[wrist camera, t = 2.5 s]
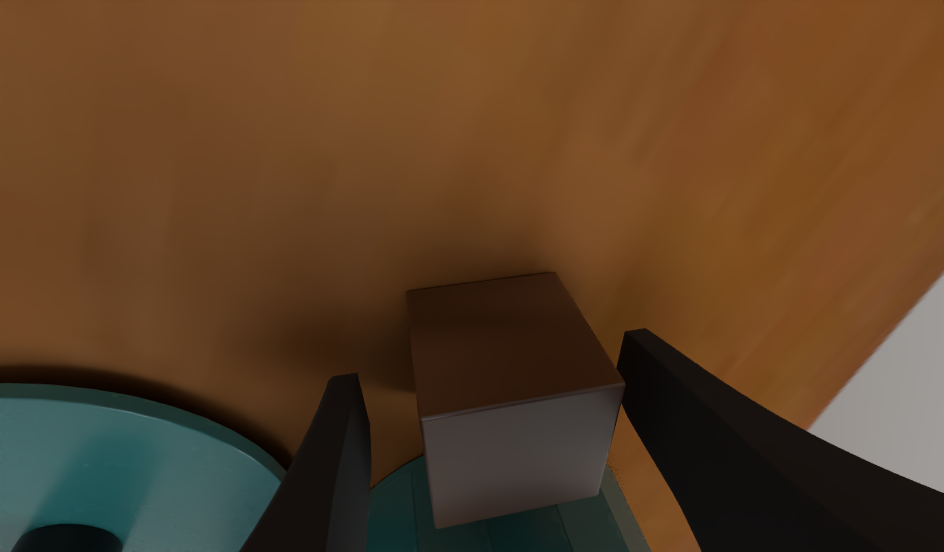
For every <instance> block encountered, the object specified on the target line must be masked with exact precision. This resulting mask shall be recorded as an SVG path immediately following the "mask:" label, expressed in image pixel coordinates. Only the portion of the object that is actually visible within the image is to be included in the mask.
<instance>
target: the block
mask: <svg viewBox="0 0 944 552" xmlns="http://www.w3.org/2000/svg"><path fill="white" fill-rule="evenodd" d="M405 296H406V305H407V314H408V323H409V333H410V342H411V351H412V360H413V370H414V379H415V388H416V398H417V407H418V416H419V424H420V431H421V437H422V444H423V451H424V458H425V465H426V472H427V478H428V485H429V492H430V499H431V506H432V512H433V519H434V526H435V528H436V529H440V528H445V527H450V526H455V525H459V524H464V523H469V522H474V521H478V520H483V519H488V518H493V517H497V516H502V515H507V514H512V513H517V512H521V511H526V510H531V509H536V508H540V507H545V506H550V505H555V504H559V503H564V502H569V501H574V500H579V499H583V498H588V497H593V496H596V495H598V492H599V488H600V484H601V480H602V476H603V472H604V468H605V465H606V461H607V457H608V453H609V449H610V445H611V441H612V437H613V433H614V429H615V425H616V421H617V418H618V414H619V410H620V406H621V402H622V398H623V394H624V390H625V386H626V385H625V382H624V380H623V378H622V377H621V375H620V374H619V372H618V371H617V369H616V367H615V366H614V364H613V363H612V361H611V359H610V358H609V356H608V355H607V353H606V352H605V350H604V348H603V347H602V345H601V344H600V342H599V340H598V339H597V337H596V336H595V334H594V333H593V331H592V329H591V328H590V326H589V325H588V323H587V321H586V320H585V318H584V317H583V315H582V314H581V312H580V310H579V309H578V307H577V306H576V304H575V302H574V301H573V299H572V298H571V296H570V295H569V293H568V291H567V290H566V288H565V287H564V285H563V283H562V282H561V280H560V279H559V277H558V276H557V274H556V273H555V272H552V273H544V274H536V275H529V276H521V277H513V278H506V279H498V280H490V281H483V282H475V283H467V284H460V285H452V286H444V287H437V288H429V289H422V290H414V291H407V292H406V294H405Z"/></svg>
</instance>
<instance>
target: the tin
mask: <svg viewBox="0 0 944 552" xmlns="http://www.w3.org/2000/svg"><path fill="white" fill-rule="evenodd" d="M366 552H651V550H650V548H649V546H648V544H647V542H646V540H645V538H644V536H643V534H642V531H641V529H640V527H639V525H638V523H637V521H636V519H635V517H634V515H633V513H632V511H631V509H630V507H629V505H628V503H627V501H626V499H625V497H624V495H623V493H622V491H621V489H620V487H619V485H618V483H617V481H616V478H615V476H614V474H613V472H612V470H611V469H610V467H609V466H607V465H605V468H604V472H603V476H602V480H601V484H600V488H599V492H598V495H596V496H593V497H588V498H583V499H579V500H574V501H569V502H564V503H559V504H555V505H550V506H545V507H540V508H536V509H531V510H526V511H521V512H517V513H512V514H507V515H502V516H497V517H493V518H488V519H483V520H478V521H474V522H469V523H464V524H459V525H455V526H450V527H445V528H440V529H436V528H435V526H434V519H433V512H432V506H431V499H430V492H429V485H428V478H427V472H426V465H425V458H424V455H423V456H421V457H419V458H417V459H415V460H413V461H411V462H410V463H408V464H406V465H404V466H402V467H401V468H399V469H398V470H396V471H395V472H393V473H392V474H390V475H389V476H387V477H386V478H385V479H384V480H382V481H381V482H380V483H379V484H377V485H376V486H375V487H374V488H373V489H372V490H371V491H370V495H369V510H368V524H367V539H366Z"/></svg>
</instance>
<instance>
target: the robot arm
mask: <svg viewBox="0 0 944 552" xmlns="http://www.w3.org/2000/svg"><path fill="white" fill-rule="evenodd" d="M616 369H617V371H618V372H619V374H620V375H621V377H622V378H623V380H624V382H625V385H626V386H625V390H624V394H623V398H622V402H621V403H622V406H623V408H624V410H625V412H626V414H627V417H628V418H629V420H630V422H631V424H632V425H633V427H634V429H635V430H636V432H637V434H638V436H639V437H640V439H641V441H642V442H643V444H644V446H645V447H646V449H647V451H648V452H649V454H650V456H651V457H652V459H653V461H654V462H655V464H656V466H657V467H658V469H659V471H660V472H661V474H662V476H663V477H664V479H665V481H666V482H667V484H668V486H669V487H670V489H671V491H672V493H673V494H674V496H675V498H676V500H677V502H678V503H679V505H680V507H681V509H682V511H683V513H684V515H685V517H686V519H687V521H688V524H689V526H690V528H691V530H692V532H693V534H694V536H695V538H696V540H697V542H698V544H699V547H700V549H701V551H702V552H944V493H942V492H939V491H937V490H935V489H932V488H930V487H927V486H925V485H922V484H920V483H917V482H915V481H913V480H910V479H907V478H905V477H903V476H900V475H898V474H896V473H893V472H891V471H889V470H886V469H884V468H882V467H880V466H877V465H875V464H873V463H871V462H868V461H866V460H864V459H862V458H860V457H858V456H856V455H853V454H851V453H849V452H847V451H845V450H843V449H841V448H838V447H837V446H834V445H832V444H830V443H828V442H826V441H824V440H822V439H820V438H818V437H816V436H815V435H812V434H811V433H809V432H807V431H805V430H803V429H801V428H800V427H798V426H796V425H794V424H792V423H790V422H789V421H787V420H785V419H783V418H781V417H779V416H778V415H776V414H774V413H773V412H771V411H769V410H767V409H766V408H764V407H762V406H761V405H759V404H758V403H756V402H754V401H753V400H751V399H749V398H748V397H746V396H745V395H743V394H741V393H740V392H738V391H737V390H735V389H733V388H732V387H730V386H729V385H727V384H726V383H724V382H723V381H721V380H720V379H718V378H717V377H715V376H714V375H712V374H711V373H709V372H708V371H706V370H705V369H703V368H702V367H701V366H699V365H698V364H696V363H695V362H693V361H692V360H691V359H689V358H688V357H686V356H685V355H683V354H682V353H681V352H679V351H678V350H676V349H675V348H674V347H672V346H671V345H669V344H668V343H666V342H665V341H664V340H662V339H661V338H659V337H658V336H656V335H655V334H653V333H652V332H650V331H649V330H647V329H646V328H644V329H637V330H631V331H625V333H624V337H623V342H622V346H621V350H620V354H619V359H618V363H617V367H616ZM370 480H371V437H370V422H369V418H368V414H367V410H366V406H365V402H364V398H363V394H362V390H361V386H360V382H359V378H358V374H357V373H351V374H345V375H338V376H332V377H331V378H330V379H329V380H328V383H327V386H326V389H325V392H324V394H323V397H322V399H321V402H320V404H319V407H318V409H317V411H316V414H315V416H314V418H313V420H312V423H311V425H310V427H309V429H308V431H307V433H306V435H305V437H304V440H303V442H302V444H301V446H300V448H299V450H298V452H297V454H296V456H295V458H294V460H293V462H292V464H291V465H290V467H289V469H288V471H287V473H286V475H285V476H284V478H283V480H282V482H281V484H280V485H279V487H278V489H277V491H276V493H275V495H274V496H273V498H272V500H271V501H270V503H269V505H268V506H267V508H266V510H265V511H264V513H263V515H262V516H261V518H260V519H259V521H258V523H257V524H256V526H255V527H254V529H253V531H252V532H251V534H250V535H249V537H248V538H247V540H246V541H245V543H244V544H243V546H242V547H241V549H240V550H239V552H366V539H367V524H368V510H369V495H370Z"/></svg>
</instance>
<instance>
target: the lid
mask: <svg viewBox="0 0 944 552" xmlns="http://www.w3.org/2000/svg"><path fill="white" fill-rule="evenodd" d="M286 473H287V471H286V470H285V469H284V468H283V467H282V466H281V465H280V464H279V463H278V462H277V461H276V460H275V459H274V458H273V457H272V456H271V455H269V454H268V453H267V452H265V451H264V450H263V449H262V448H260V447H259V446H258V445H256V444H255V443H253V442H252V441H250V440H248V439H247V438H245V437H243V436H242V435H240V434H238V433H236V432H235V431H233V430H231V429H229V428H227V427H225V426H222V425H220V424H218V423H216V422H214V421H211V420H209V419H207V418H205V417H202V416H199V415H196V414H194V413H191V412H188V411H185V410H182V409H179V408H177V407H174V406H170V405H166V404H163V403H159V402H155V401H151V400H147V399H144V398H140V397H136V396H130V395H125V394H119V393H114V392H109V391H103V390H98V389H90V388H81V387H72V386H62V385H53V384H28V383H0V552H239V550H240V549H241V547H242V546H243V544H244V543H245V541H246V540H247V538H248V537H249V535H250V534H251V532H252V531H253V529H254V527H255V526H256V524H257V523H258V521H259V519H260V518H261V516H262V515H263V513H264V511H265V510H266V508H267V506H268V505H269V503H270V501H271V500H272V498H273V496H274V495H275V493H276V491H277V489H278V487H279V485H280V484H281V482H282V480H283V478H284V476H285V475H286Z"/></svg>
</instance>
